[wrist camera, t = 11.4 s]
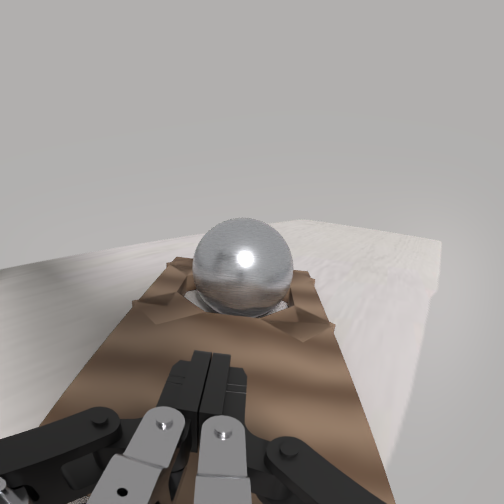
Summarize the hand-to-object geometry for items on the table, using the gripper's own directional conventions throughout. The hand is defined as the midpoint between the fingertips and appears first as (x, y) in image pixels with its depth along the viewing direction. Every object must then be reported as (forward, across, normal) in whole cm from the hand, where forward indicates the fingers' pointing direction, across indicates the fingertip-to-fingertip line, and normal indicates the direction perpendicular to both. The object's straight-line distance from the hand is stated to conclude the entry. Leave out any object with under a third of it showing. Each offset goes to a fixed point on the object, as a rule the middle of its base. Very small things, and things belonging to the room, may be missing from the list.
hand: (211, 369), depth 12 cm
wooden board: (+13, 0, +7) cm, 15 cm away
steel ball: (+19, 0, +2) cm, 19 cm away
